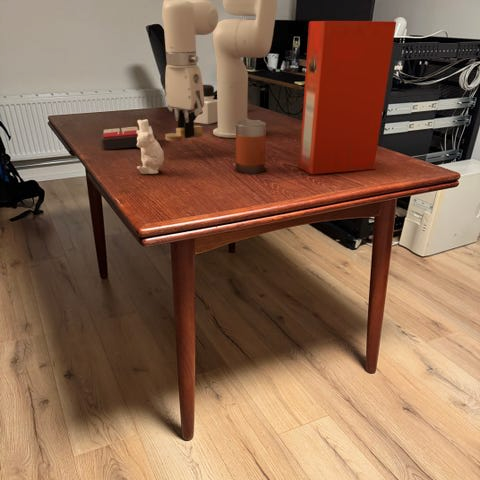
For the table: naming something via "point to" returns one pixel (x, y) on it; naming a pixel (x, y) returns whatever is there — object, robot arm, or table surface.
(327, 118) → the file binder
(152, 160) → the white squirrel figurine
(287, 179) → the table surface
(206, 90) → the medicine bottle
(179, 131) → the wooden spoon
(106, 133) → the calculator
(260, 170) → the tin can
